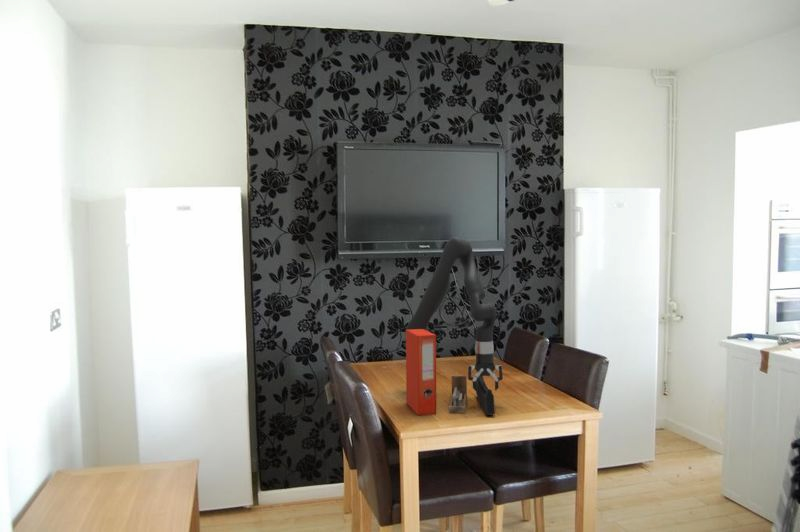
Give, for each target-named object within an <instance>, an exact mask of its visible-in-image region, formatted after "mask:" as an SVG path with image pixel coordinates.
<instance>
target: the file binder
mask: <svg viewBox="0 0 800 532" xmlns="http://www.w3.org/2000/svg"><path fill="white" fill-rule="evenodd" d="M405 331H406V334H405V359H406V360H405V367H406V368H405V369H406V370H405V371H406V372H405V373H406V374H405V375H406V376H405V380H406V381H405V383H406V385H405V389H406V391H405V392H406V393H405V394H406V396H405V397H406V405H408V407H410V408H411V410H413V412H414V413H416V414H417V415H418V416H427V415H428V414H430V415H436V414H437V335H436V334H435V333H432V332H430V331H429V332H428V331H426V330H424V329H410V330H406V329H405Z"/></svg>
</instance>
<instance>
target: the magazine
mask: <svg viewBox="0 0 800 532" xmlns="http://www.w3.org/2000/svg"><path fill="white" fill-rule="evenodd" d="M475 393H476V397H477V400H478V403H479V405H480V407H481V410H483V411H484V413H486V415H489V416H493V415H495V413H496V410H495V409H496V408H495V395H494V394H493V390H492V389H490V388H489V387H488V386H487V384H486V382H485V380H484V376H481V375H479V377H478V378H477V379H476V390H475Z"/></svg>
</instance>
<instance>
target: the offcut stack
mask: <svg viewBox="0 0 800 532" xmlns="http://www.w3.org/2000/svg"><path fill="white" fill-rule="evenodd" d="M463 400H464V399H463V398H462V393H460V390H457V388H455V389H454V393H453V406H461V407H463Z"/></svg>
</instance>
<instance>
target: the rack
mask: <svg viewBox="0 0 800 532" xmlns="http://www.w3.org/2000/svg"><path fill="white" fill-rule="evenodd" d="M467 380H468V375H451V394H450V400H449V405H448V413H449V414H466V410H467V409H466V408H467V400H468V399H467V398H468V389H467V387H468V383H467ZM455 388H457V390H460V393H462V398H463V404H462V407H461V406H453V393H454V389H455Z"/></svg>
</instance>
